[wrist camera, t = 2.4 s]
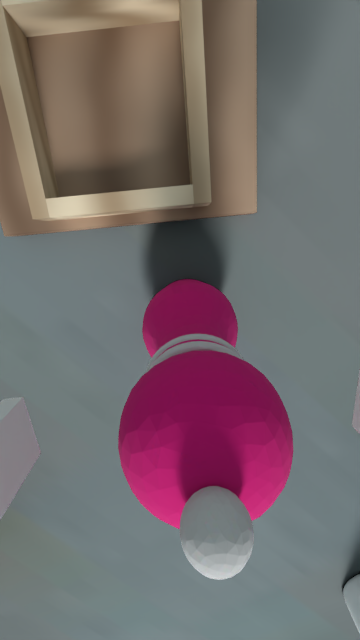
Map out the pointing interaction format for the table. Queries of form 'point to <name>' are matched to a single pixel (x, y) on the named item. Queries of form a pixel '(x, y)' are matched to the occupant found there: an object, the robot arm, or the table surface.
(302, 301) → the table surface
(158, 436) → the pepper mill
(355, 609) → the milk bottle
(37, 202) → the holder board
